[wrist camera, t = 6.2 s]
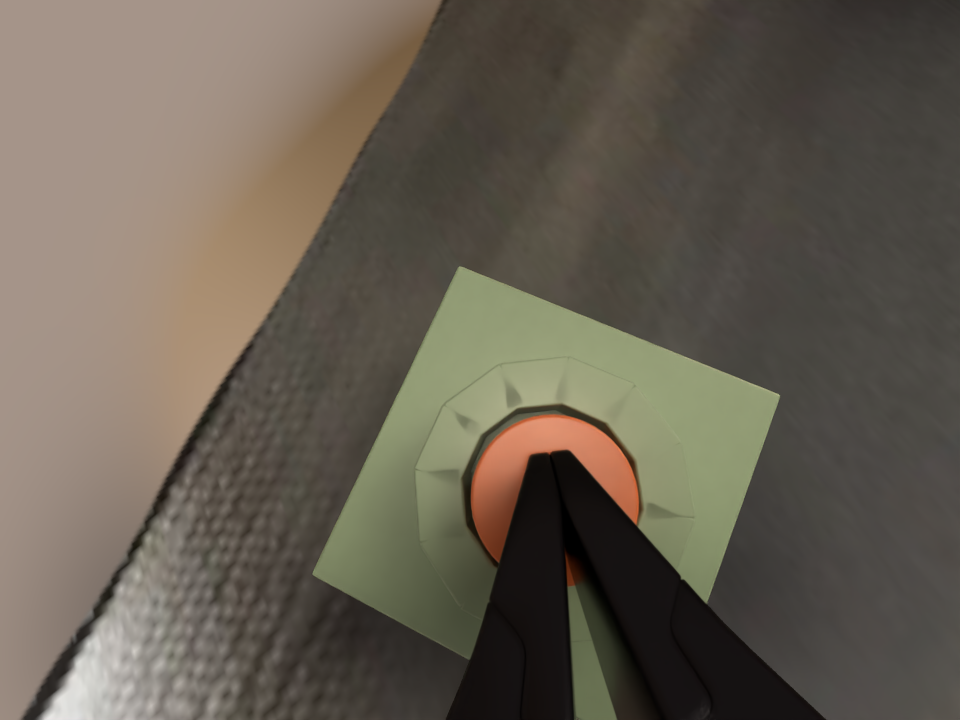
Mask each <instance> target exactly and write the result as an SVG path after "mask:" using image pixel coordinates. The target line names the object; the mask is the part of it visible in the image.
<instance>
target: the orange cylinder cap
mask: <svg viewBox="0 0 960 720" xmlns="http://www.w3.org/2000/svg"><path fill="white" fill-rule="evenodd" d="M565 449H568V450H570V451H571V452H572V453H573V454H574V455H575V456H576V457H577V458H578V460H579V461H580V462H581V463H582V464H583V465H584V466H585V468H586V469H587V470H588V471H589V472H590V473H591V474H592V475H593V477H594V478H595V479H596V480H597V481H598V482H599V483H600V484H601V486H602V487H603V488H604V489H605V490H606V491H607V492H608V494H609V495H610V496H611V497H612V498H613V499H614V500H615V501H616V503H617V504H618V505H619V506H620V507H621V508H622V509H623V511H624V512H625V513H626V514H627V515H628V516H629V517H630V518H631V520H632V521H633V522H634V523H635V524H636V525H637V520H638V514H639V496H638V488H637V484H636V479H635V477H634V474H633V471H632V468H631V466H630V464H629V462H628V460H627V458H626V457H625V455H624V454H623V452H622V451H621V449H620V448H619V447H618V446H617V445H616V444H615V442H614V441H613V440H612V439H611V438H610V437H608V436H607V435H606V434H605V433H604V432H602V431H601V430H599V429H598V428H597V427H595V426H593V425H591V424H589V423H587V422H585V421H583V420H580V419H577V418H574V417H570V416H565V415H556V414H549V415H539V416H533V417H530V418H526V419H523V420H521V421H519V422H516V423H514V424H512V425H511V426H509V427H508V428H506V429H505V430H503V431H502V432H501V433H500V434H499V435H497V436H496V437H495V438H494V439H493V440H492V442H491V443H490V444H489V445H488V446H487V448H486V449H485V451H484V452H483V454H482V456H481V458H480V460H479V461H478V464H477V466H476V469H475V472H474V476H473V480H472V486H471V509H472V516H473V520H474V523H475V527H476V529H477V532H478V534H479V536H480V539H481V540H482V542H483V544H484V546H485V547H486V549H487V550H488V551H489V553H490V554H491V555H492V557H493V558H494V559H495V560H496V561H497V562H498V563H499V561H500V558H501V554H502V551H503V547H504V544H505V540H506V536H507V533H508V529H509V526H510V522H511V519H512V515H513V512H514V508H515V504H516V501H517V497H518V494H519V490H520V487H521V483H522V480H523V476H524V473H525V469H526V465H527V462H528V458H529V456H530V455H531V454H535V453H543V452H547V453H549V454H550V453H551V452H552V451H558V450H565ZM565 554H566V552H565ZM566 567H567V582H568V587H570V586H575V584H574V581H573V577H572V574H571V571H570V568H569V564H568V561H567V557H566Z"/></svg>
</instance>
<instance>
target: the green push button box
mask: <svg viewBox="0 0 960 720" xmlns="http://www.w3.org/2000/svg"><path fill="white" fill-rule="evenodd" d="M779 398H780V395H778V394H777V393H774V392H772V391H769V390H767V389H764V388H762V387H759V386H757V385H754V384H752V383H749V382H747V381H744V380H742V379H739V378H737V377H734V376H732V375H729V374H727V373H724V372H722V371H719V370H717V369H714V368H712V367H709V366H707V365H704V364H702V363H699V362H697V361H695V360H692V359H690V358H687V357H685V356H682V355H680V354H677V353H675V352H672V351H670V350H667V349H665V348H662V347H660V346H657V345H655V344H652V343H650V342H647V341H645V340H642V339H640V338H637V337H635V336H632V335H630V334H627V333H625V332H622V331H620V330H617V329H615V328H612V327H610V326H607V325H605V324H603V323H600V322H598V321H595V320H593V319H590V318H588V317H585V316H583V315H580V314H578V313H575V312H573V311H570V310H568V309H565V308H563V307H560V306H558V305H555V304H553V303H550V302H548V301H545V300H543V299H540V298H538V297H535V296H533V295H530V294H528V293H525V292H523V291H520V290H518V289H515V288H513V287H510V286H508V285H506V284H503V283H501V282H498V281H496V280H493V279H491V278H488V277H486V276H483V275H481V274H478V273H476V272H473V271H471V270H468V269H466V268H463V267H458V269H457V271H456V273H455V275H454V277H453V279H452V281H451V283H450V286H449V288H448V290H447V292H446V294H445V296H444V298H443V300H442V302H441V304H440V306H439V309H438V311H437V313H436V315H435V317H434V319H433V321H432V323H431V325H430V327H429V329H428V332H427V334H426V336H425V338H424V340H423V342H422V344H421V346H420V348H419V350H418V353H417V355H416V357H415V359H414V361H413V363H412V365H411V367H410V369H409V371H408V373H407V376H406V378H405V380H404V382H403V384H402V386H401V388H400V390H399V392H398V394H397V396H396V399H395V401H394V403H393V405H392V407H391V409H390V411H389V413H388V415H387V417H386V420H385V422H384V424H383V426H382V428H381V430H380V432H379V434H378V436H377V438H376V440H375V443H374V445H373V447H372V449H371V451H370V453H369V455H368V457H367V459H366V461H365V464H364V466H363V468H362V470H361V472H360V474H359V476H358V478H357V480H356V482H355V484H354V487H353V489H352V491H351V493H350V495H349V497H348V499H347V501H346V503H345V505H344V507H343V510H342V512H341V514H340V516H339V518H338V520H337V522H336V524H335V526H334V528H333V531H332V533H331V535H330V537H329V539H328V541H327V543H326V545H325V547H324V549H323V551H322V554H321V556H320V558H319V560H318V562H317V564H316V566H315V568H314V570H313V574H312V575H313V576H315V577H317V578H319V579H320V580H322V581H324V582H326V583H328V584H330V585H332V586H333V587H335V588H337V589H339V590H341V591H343V592H344V593H346V594H348V595H350V596H352V597H354V598H356V599H357V600H359V601H361V602H363V603H365V604H367V605H369V606H370V607H372V608H374V609H376V610H378V611H380V612H381V613H383V614H385V615H387V616H389V617H391V618H393V619H394V620H396V621H398V622H400V623H402V624H404V625H406V626H407V627H409V628H411V629H413V630H415V631H417V632H418V633H420V634H422V635H424V636H426V637H428V638H430V639H431V640H433V641H435V642H437V643H439V644H441V645H443V646H444V647H446V648H448V649H450V650H452V651H454V652H455V653H457V654H459V655H461V656H463V657H465V658H467V659H468V660H470V658H471V655H472V652H473V649H474V646H475V643H476V640H477V637H478V633H479V630H480V627H481V624H482V621H483V617H484V614H485V610H486V607H487V603H488V602H490V601H489V597H490V593H491V590H492V586H493V583H494V579H495V575H496V572H497V568H498V565H499V563H498V562H497V561H496V560H495V559H494V558H493V557H492V555H491V554H490V553H489V551H488V550H487V549H486V547H485V546H484V544H483V542H482V540H481V539H480V536H479V534H478V532H477V529H476V527H475V523H474V520H473V516H472V509H471V486H472V480H473V476H474V472H475V469H476V466H477V464H478V461H479V460H480V458H481V456H482V454H483V452H484V451H485V449H486V448H487V446H488V445H489V444H490V443H491V442H492V440H493V439H494V438H495V437H496V436H497V435H499V434H500V433H501V432H502V431H503V430H505V429H506V428H508V427H509V426H511V425H512V424H514V423H516V422H519V421H521V420H523V419H526V418H530V417H533V416H539V415H549V414H556V415H565V416H570V417H574V418H577V419H580V420H583V421H585V422H587V423H589V424H591V425H593V426H595V427H597V428H598V429H599V430H601V431H602V432H604V433H605V434H606V435H607V436H608V437H610V438H611V439H612V440H613V441H614V442H615V444H616V445H617V446H618V447H619V448H620V449H621V451H622V452H623V454H624V455H625V457H626V458H627V460H628V462H629V464H630V466H631V468H632V471H633V474H634V477H635V479H636V484H637V488H638V496H639V514H638V520H637V526H638V528H639V529H640V530H641V531H642V532H643V533H644V534H645V535H646V537H647V538H648V539H649V540H650V541H651V542H652V543H653V545H654V546H655V547H656V548H657V549H658V550H659V551H660V552H661V554H662V555H663V556H664V557H665V558H666V559H667V560H668V561H669V563H670V564H671V565H672V566H673V567H674V568H675V569H676V571H677V572H678V573H679V574H680V575H681V580H682V579H684V580H686V582H687V583H688V584H689V585H690V586H691V587H692V588H693V590H694V591H695V592H696V593H697V594H698V595H699V596H700V597H701V599H702V600H703V601H704V602H705V603H706V604H707V602H708V599H709V596H710V593H711V590H712V587H713V585H714V582H715V579H716V576H717V573H718V571H719V568H720V565H721V562H722V559H723V556H724V554H725V551H726V548H727V545H728V542H729V539H730V537H731V534H732V531H733V528H734V525H735V522H736V520H737V517H738V514H739V511H740V508H741V506H742V503H743V500H744V497H745V494H746V491H747V489H748V486H749V483H750V480H751V477H752V474H753V472H754V469H755V466H756V463H757V460H758V457H759V455H760V452H761V449H762V446H763V443H764V441H765V438H766V435H767V432H768V429H769V426H770V424H771V421H772V418H773V415H774V412H775V409H776V407H777V404H778V401H779ZM568 597H569V613H570V628H571V644H572V659H573V675H574V690H575V706H576V718H578V719H579V720H617V718H616V715H615V712H614V709H613V705H612V702H611V699H610V696H609V693H608V689H607V686H606V683H605V680H604V677H603V673H602V670H601V667H600V664H599V661H598V657H597V654H596V651H595V648H594V645H593V641H592V638H591V635H590V632H589V629H588V625H587V622H586V619H585V616H584V613H583V609H582V606H581V603H580V600H579V597H578V593H577V590H576V587H575V586H570V587H568Z"/></svg>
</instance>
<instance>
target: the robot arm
mask: <svg viewBox="0 0 960 720" xmlns="http://www.w3.org/2000/svg"><path fill="white" fill-rule="evenodd" d="M565 552H566V554H565ZM566 557H567V561H568V564H569V568H570V571H571V574H572V577H573V581H574V584H575V587H576V590H577V593H578V597H579V600H580V603H581V606H582V609H583V613H584V616H585V619H586V622H587V625H588V629H589V632H590V635H591V638H592V641H593V645H594V648H595V651H596V654H597V657H598V661H599V664H600V667H601V670H602V673H603V677H604V680H605V683H606V686H607V689H608V693H609V696H610V699H611V702H612V705H613V709H614V712H615V715H616V718H617V720H826V719H825V718H824V717H823V716H822V715H821V714H820V713H819V712H817V711H816V710H815V709H814V708H813V707H812V706H811V705H810V704H809V703H808V702H807V701H806V700H805V699H804V698H803V697H801V696H800V695H799V694H798V693H797V692H796V691H795V690H794V689H793V688H792V687H791V686H790V685H789V684H788V683H787V682H785V681H784V680H783V679H782V678H781V677H780V676H779V675H778V674H777V673H776V672H775V671H774V670H773V669H772V668H770V667H769V666H768V665H767V664H766V663H765V662H764V661H763V660H762V659H761V658H760V657H759V656H758V655H757V654H756V653H754V652H753V651H752V650H751V649H750V648H749V647H748V646H747V645H746V644H745V643H744V642H743V641H742V640H741V639H740V638H739V637H738V636H737V635H736V634H735V633H734V632H733V631H732V630H731V629H730V628H729V627H728V626H727V625H726V624H725V623H724V622H723V621H722V620H721V619H720V618H719V617H718V616H717V615H716V614H715V612H714V611H713V610H712V609H711V608H710V607H709V606H708V605H707V604H706V603H705V602H704V601H703V600H702V599H701V597H700V596H699V595H698V594H697V593H696V592H695V591H694V590H693V588H692V587H691V586H690V585H689V584H688V583H687V582H686V580H684V579H682V580H681V575H680V574H679V573H678V572H677V571H676V569H675V568H674V567H673V566H672V565H671V564H670V563H669V561H668V560H667V559H666V558H665V557H664V556H663V555H662V554H661V552H660V551H659V550H658V549H657V548H656V547H655V546H654V545H653V543H652V542H651V541H650V540H649V539H648V538H647V537H646V535H645V534H644V533H643V532H642V531H641V530H640V529H639V528H638V526H637V525H636V524H635V523H634V522H633V521H632V520H631V518H630V517H629V516H628V515H627V514H626V513H625V512H624V511H623V509H622V508H621V507H620V506H619V505H618V504H617V503H616V501H615V500H614V499H613V498H612V497H611V496H610V495H609V494H608V492H607V491H606V490H605V489H604V488H603V487H602V486H601V484H600V483H599V482H598V481H597V480H596V479H595V478H594V477H593V475H592V474H591V473H590V472H589V471H588V470H587V469H586V468H585V466H584V465H583V464H582V463H581V462H580V461H579V460H578V458H577V457H576V456H575V455H574V454H573V453H572V452H571V451H570V450H568V449H565V450H558V451H552V452H551V453H550V454H549V453H547V452H543V453H535V454H531V455H530V456H529V458H528V462H527V465H526V469H525V473H524V476H523V480H522V483H521V487H520V490H519V494H518V497H517V501H516V504H515V508H514V512H513V515H512V519H511V522H510V526H509V529H508V533H507V536H506V540H505V544H504V547H503V551H502V554H501V558H500V561H499V565H498V568H497V572H496V575H495V579H494V583H493V586H492V590H491V593H490V597H489V601H490V602H488V603H487V607H486V610H485V614H484V617H483V621H482V624H481V627H480V630H479V633H478V637H477V640H476V643H475V646H474V649H473V652H472V655H471V658H470V660H469V663H468V665H467V668H466V671H465V673H464V676H463V679H462V681H461V684H460V686H459V689H458V691H457V693H456V696H455V698H454V701H453V703H452V705H451V708H450V710H449V713H448V715H447V717H446V720H576V706H575V690H574V675H573V659H572V644H571V628H570V613H569V597H568V582H567V567H566Z"/></svg>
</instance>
